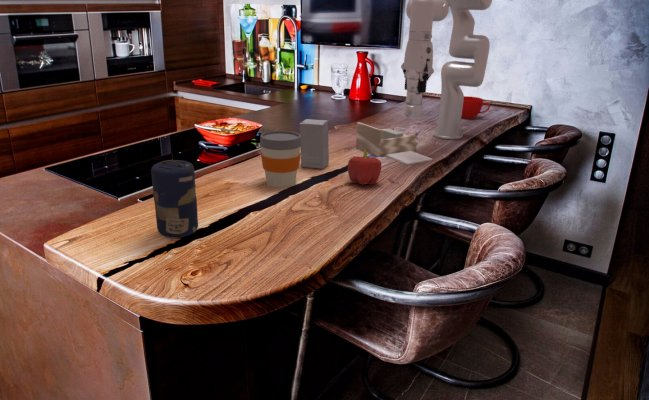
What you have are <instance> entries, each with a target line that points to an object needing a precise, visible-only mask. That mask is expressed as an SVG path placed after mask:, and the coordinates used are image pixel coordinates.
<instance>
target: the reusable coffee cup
mask: <svg viewBox="0 0 649 400" xmlns="http://www.w3.org/2000/svg"><path fill="white" fill-rule="evenodd" d="M259 138H260V139H259V147H261V153H260V156H261V164H262V169H263V170H264V173H265V182H266V185H268V186H269V187H272V188H277V189H278V188H280V189H282V188H284V189H285V188H289V187H293V186H294V185H296V180H297V173H298V170H299V167H300V164H301V145H302V144H301V135H300V133H298V132H296V131H288V130H273V131H266V132H263V133H261V134H260V137H259Z"/></svg>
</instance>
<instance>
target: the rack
mask: <svg viewBox="0 0 649 400" xmlns="http://www.w3.org/2000/svg"><path fill="white" fill-rule="evenodd" d="M386 129H387V128H383V129H380V128H377V127H374V126H371V125H368V124H365V123H362V122H360V121H359V122H356V137H355V139H356V140H355V148H356V149H359V150H360V151H363V149H366V150H367V154H371V155H373V156H374V157H375V156H376V157H378V158H379V157H382V156H383V157H384V156H385V157H386V155H387V154H393V153H400V152H406V151H413V152H416V151H417V150H418V149H417V147H418V142H416V137H417V136H416V135H415V134H412V135H403V137H397V138H390V139H383V140H381V136H382V130H386ZM388 129H392V130H395V128H394V127H391V128H388Z"/></svg>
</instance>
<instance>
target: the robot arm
mask: <svg viewBox="0 0 649 400" xmlns="http://www.w3.org/2000/svg"><path fill="white" fill-rule="evenodd" d="M492 2H493V0H408V1H407V4H406V8H405V12H406V16H407V18H408V19H409V27H408V28H409V31H408V40H407V43H406V47H405V52H404V60H403V63H402V64H401V66H400V68H401V70H402V73H403V75H404V90H405V91H407V78H406V77H407V73H408V71H409V70H410V69H414V70H415V71H416V72H419V76H420V81H419V83H418V93H422V94H423V93H426V91H427V82H428V81H429V79H430V78H431V76H432V75H433V74H434V73H435V69H434V67H433V61H434V47H433V42H432V38H433V34H432V33H433V23H434V22H441V21H444V20H445V19H446V18H447V16H448V15H449V11H450V12H451V15H452V21H453V22H452V30H451V34H450V40H449V47H448V48H449V49H448V52H449V53H448V54H449V56H451V57H452V58H455V59H456V58H457V59H468V60H473V61H474V62H469V61H468V62H467V61H456V60H451V61H446V62H445V63H444V64H443V65H442V67H441V70H440V77H441V78H440V79H441V91H440V100H439V108H438V109H439V110H438V116H437V119H438V120H437V125H436V127H437V128H436V130H435V131H433V132H432V135H433V136H434V137H435V138H439V139H441V140H442V139H443V140H460V139H462V138H463V137H464V136H463V135H464V134H463V133H462V132H463V131H467V129H468V127H467V126H466V125H464V126H463V125H461V122H462V118H461V115H462V108H463V100H464V96H465V95H464V93H463V90H462V88H461V87H469V88H478V87H481V86H482V84H483V83H484V79H485V75H486V70H487V64H488V60H489V59H488V58H489V55H490V47H491V46H490V45H491V44H490V39H489V37H487V36H486V35H483V34H474V31H475V25H476V23H475V22H476V21H475V19H474V16H473V14H472V13H471V12H470V11H485V10H487V9H489V8H490V7H491V5H492ZM423 74H424V76H423Z"/></svg>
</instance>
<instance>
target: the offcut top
mask: <svg viewBox="0 0 649 400" xmlns="http://www.w3.org/2000/svg"><path fill="white" fill-rule="evenodd" d="M385 129H386V130H382V136H383V137H386V138H397V137H404V132H401V131H398V130H395V129H394V130H392V129H389V128H385Z"/></svg>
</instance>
